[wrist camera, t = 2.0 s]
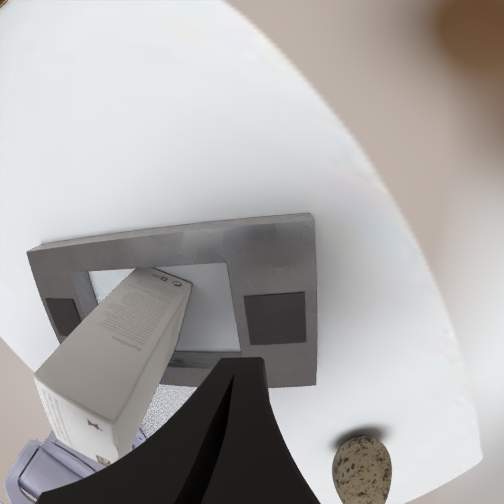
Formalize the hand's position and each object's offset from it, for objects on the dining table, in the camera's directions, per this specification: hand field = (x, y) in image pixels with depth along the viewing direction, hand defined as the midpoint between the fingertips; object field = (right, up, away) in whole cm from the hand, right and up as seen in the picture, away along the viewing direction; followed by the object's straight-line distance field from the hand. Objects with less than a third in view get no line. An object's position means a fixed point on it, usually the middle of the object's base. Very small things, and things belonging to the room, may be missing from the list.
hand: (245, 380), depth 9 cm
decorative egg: (+11, -16, +15) cm, 25 cm away
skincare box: (-6, 0, +12) cm, 13 cm away
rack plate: (-7, 0, +12) cm, 13 cm away
